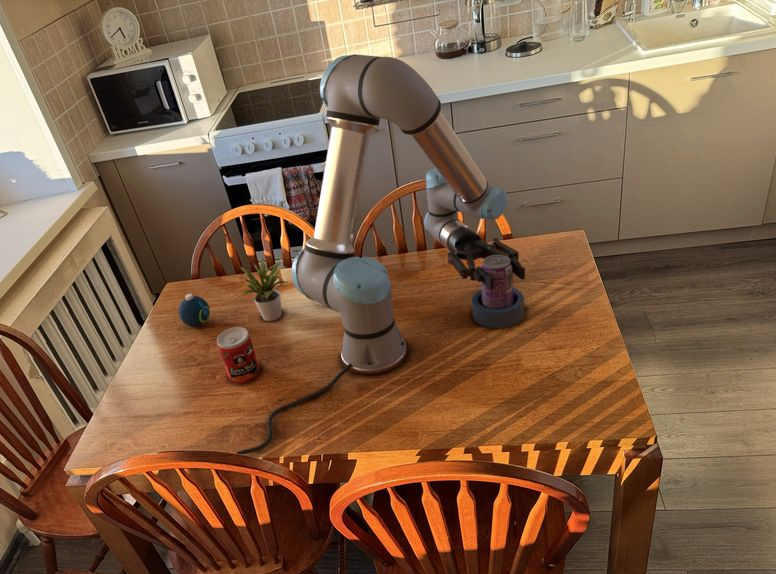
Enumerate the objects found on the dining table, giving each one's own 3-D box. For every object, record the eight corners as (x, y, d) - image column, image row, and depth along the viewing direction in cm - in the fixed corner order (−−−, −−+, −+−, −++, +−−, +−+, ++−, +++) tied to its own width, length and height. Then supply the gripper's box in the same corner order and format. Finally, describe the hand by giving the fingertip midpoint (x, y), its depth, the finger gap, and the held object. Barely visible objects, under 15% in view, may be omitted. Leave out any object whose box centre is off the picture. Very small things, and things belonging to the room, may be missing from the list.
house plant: (308, 320, 169) (295, 265, 160) (259, 338, 166) (243, 283, 157) (290, 297, 180) (278, 244, 171) (244, 314, 178) (228, 261, 168)
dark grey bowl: (500, 334, 149) (500, 318, 146) (462, 316, 157) (461, 301, 155) (534, 311, 154) (534, 295, 151) (495, 295, 162) (495, 280, 160)
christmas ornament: (192, 336, 173) (180, 305, 167) (178, 325, 179) (167, 295, 173) (219, 322, 176) (208, 291, 170) (205, 312, 182) (194, 281, 177)
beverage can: (508, 295, 157) (507, 251, 150) (516, 310, 151) (516, 265, 144) (479, 300, 157) (477, 256, 150) (486, 315, 151) (484, 271, 145)
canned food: (231, 387, 151) (218, 350, 145) (226, 369, 158) (214, 332, 151) (262, 378, 152) (251, 340, 146) (256, 359, 159) (245, 322, 152)
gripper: (497, 243, 167) (547, 280, 148) (425, 265, 164) (467, 306, 145) (496, 216, 162) (548, 251, 144) (423, 238, 160) (466, 277, 141)
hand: (507, 279), depth 145 cm, fingers closed on beverage can, 7 cm apart
